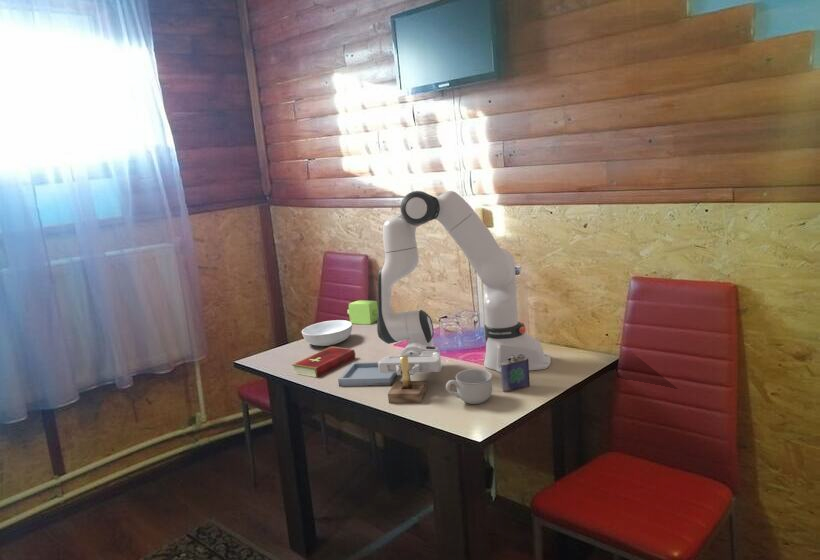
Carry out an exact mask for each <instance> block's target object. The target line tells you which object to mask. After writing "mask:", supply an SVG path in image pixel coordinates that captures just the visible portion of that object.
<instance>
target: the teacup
mask: <svg viewBox="0 0 820 560" xmlns="http://www.w3.org/2000/svg"><path fill="white" fill-rule="evenodd" d="M492 381H493V375H492V373H491V372H490V371H488V370H485V369H483V368H482V369H481V368H469V369H465V370H461V371H459V372H458V373H456V374H455V379H449V380H448V381H447V382H446V383H445V390H446V391H447V392H448V393H449V394H451V395H453V396H455V397H456V398H457V399H460V400H462V401H463V402H464V403H466V404H469V405H480V404H483V403H485V402H486V401H487V400H489V399H490V397H491V396H492V394H493V393H492V392H493V382H492ZM453 384H454V385H455V387H456V391H453V390H452V389H451V388H450V387H451V385H453Z"/></svg>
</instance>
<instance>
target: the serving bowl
mask: <svg viewBox="0 0 820 560" xmlns="http://www.w3.org/2000/svg"><path fill="white" fill-rule="evenodd" d="M352 331H353V323H351V322H350V320H344V319H336V320H334V319H333V320H326V321H321V322H317V323H314V324H310V325H307V326H306V327H304V328H303V329H302V330H301V334H302V336H303V339H304V340H305V341H306V342H307V343H308V344H310V345H313V346H319V347H331V346H333V345H337V344H339V343H342V342H343V341H345V340H347V339H348V338H349V337H350V335H351V334H352Z"/></svg>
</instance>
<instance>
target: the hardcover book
mask: <svg viewBox="0 0 820 560" xmlns="http://www.w3.org/2000/svg"><path fill="white" fill-rule="evenodd" d="M355 359H356V352H355V349H353V348H346V347H339V346H333V345H331V346H328V347H327V348H324V349H321V350H320V351H318V352H316V353H314V354H311V355H310V356H308V357H306V358H303V359H301V360H298V361H296V362H294V363H292V364H291V366H293V370H294V374H297V375H298V374H299V375H301V376H302V375H303V376H308V377H314V378H319V377H321V376H323V375H325V374H327V373H329V372H331V371H333V370H335V369H337V368H338V367H341V366H342V365H344V364H347V363H349V362H352V361H353V360H355Z"/></svg>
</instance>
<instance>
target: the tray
mask: <svg viewBox="0 0 820 560" xmlns="http://www.w3.org/2000/svg"><path fill="white" fill-rule="evenodd" d="M378 362H379V361H361V362H359V361H358V362H352V363H350V365H349V366H348V367H347V368H346V370H344V372H343V373H342V374H341V375H340V376H339V378H338V379H337V380H338V381H337V382H338V387H367V386H368V385H388V386H391V385H392V384H393V383H392V382H394V381H395V380H396V378H397V377H398V375H397V373H380V372H379V369H378ZM364 385H365V386H364ZM368 387H369V386H368Z"/></svg>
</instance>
